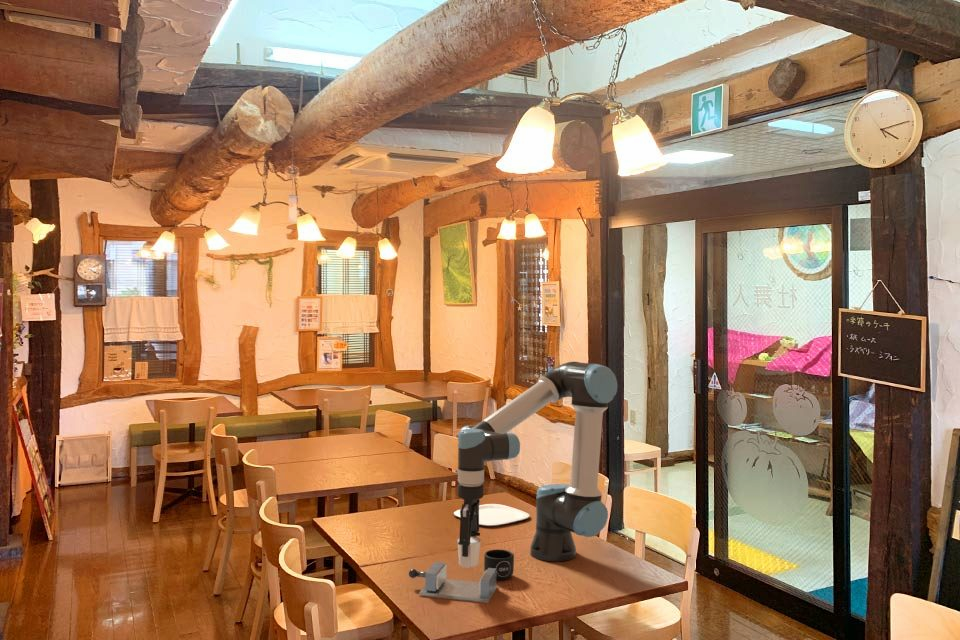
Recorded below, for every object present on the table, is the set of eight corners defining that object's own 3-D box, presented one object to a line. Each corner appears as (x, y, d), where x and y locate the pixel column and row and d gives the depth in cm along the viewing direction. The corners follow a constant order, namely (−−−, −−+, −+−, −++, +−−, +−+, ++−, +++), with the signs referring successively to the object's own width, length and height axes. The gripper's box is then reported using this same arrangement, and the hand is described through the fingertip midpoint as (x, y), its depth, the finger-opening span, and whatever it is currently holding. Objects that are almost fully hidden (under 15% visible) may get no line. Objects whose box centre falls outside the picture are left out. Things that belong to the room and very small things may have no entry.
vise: (496, 587, 230) (497, 567, 230) (487, 603, 218) (488, 581, 218) (431, 580, 234) (431, 561, 234) (419, 595, 223) (419, 574, 222)
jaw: (446, 579, 232) (447, 562, 232) (437, 591, 222) (437, 574, 222) (414, 575, 235) (414, 559, 234) (403, 588, 225) (403, 570, 225)
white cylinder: (477, 568, 221) (478, 544, 221) (454, 566, 223) (454, 542, 222) (482, 560, 228) (483, 537, 228) (459, 558, 229) (460, 535, 229)
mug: (517, 580, 236) (518, 557, 236) (489, 583, 233) (489, 560, 233) (504, 567, 247) (504, 545, 247) (477, 570, 244) (477, 547, 244)
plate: (495, 505, 321) (495, 501, 321) (537, 519, 301) (537, 515, 301) (445, 516, 305) (445, 511, 305) (487, 531, 285) (487, 527, 285)
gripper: (466, 475, 235) (464, 550, 236) (448, 490, 216) (447, 573, 216) (490, 477, 233) (488, 553, 234) (475, 492, 214) (473, 575, 215)
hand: (468, 562), depth 225 cm, fingers closed on white cylinder, 7 cm apart
